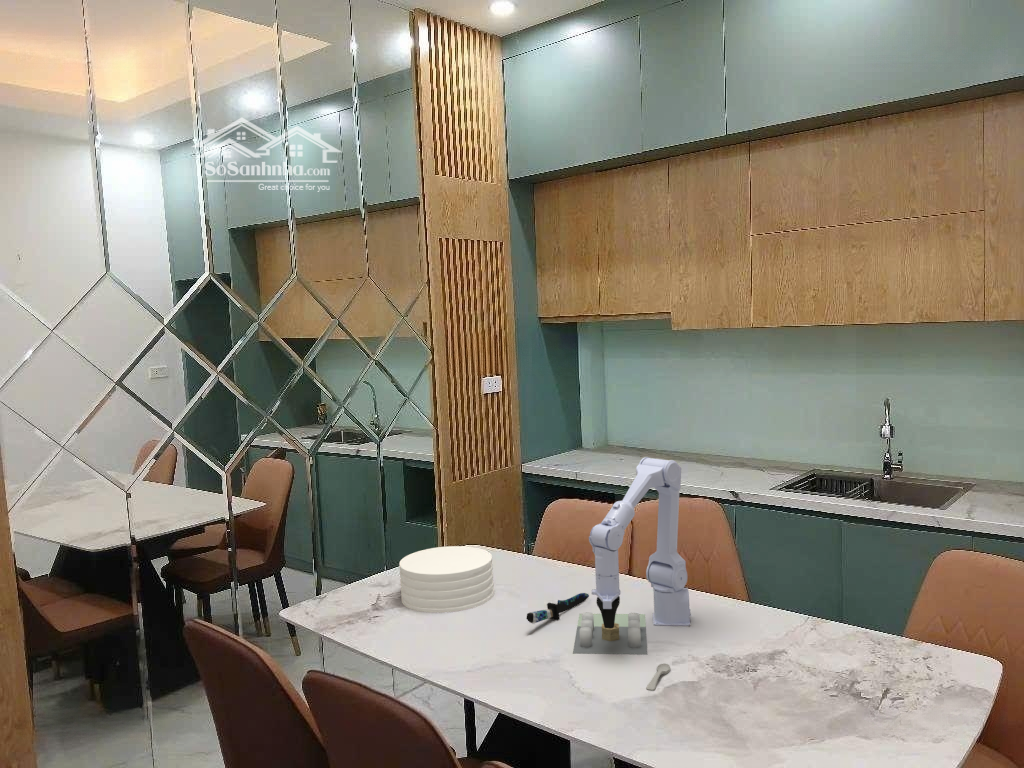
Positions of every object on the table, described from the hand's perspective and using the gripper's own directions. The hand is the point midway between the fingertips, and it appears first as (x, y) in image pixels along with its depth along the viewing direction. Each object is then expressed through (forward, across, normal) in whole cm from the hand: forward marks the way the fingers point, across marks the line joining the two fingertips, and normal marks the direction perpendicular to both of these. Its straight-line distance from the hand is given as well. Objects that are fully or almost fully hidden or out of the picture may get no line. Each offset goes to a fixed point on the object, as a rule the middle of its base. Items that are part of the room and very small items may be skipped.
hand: (609, 627), depth 190 cm
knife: (+6, -21, -14) cm, 26 cm away
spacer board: (+5, -9, 0) cm, 11 cm away
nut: (+5, -6, 0) cm, 8 cm away
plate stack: (+6, -36, -50) cm, 62 cm away
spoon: (+6, +16, +11) cm, 21 cm away
